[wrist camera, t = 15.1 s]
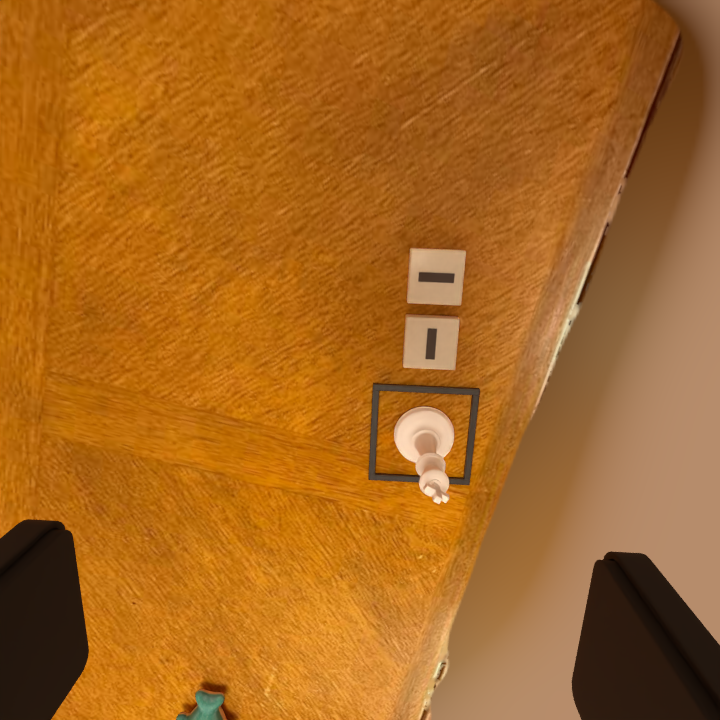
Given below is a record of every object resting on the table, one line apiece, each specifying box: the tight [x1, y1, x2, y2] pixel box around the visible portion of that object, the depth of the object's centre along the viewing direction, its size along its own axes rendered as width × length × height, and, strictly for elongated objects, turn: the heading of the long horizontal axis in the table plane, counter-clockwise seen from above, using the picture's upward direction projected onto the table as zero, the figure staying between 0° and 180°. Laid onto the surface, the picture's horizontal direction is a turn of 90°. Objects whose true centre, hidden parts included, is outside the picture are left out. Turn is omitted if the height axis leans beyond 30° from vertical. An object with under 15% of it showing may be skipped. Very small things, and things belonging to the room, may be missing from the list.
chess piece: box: [394, 407, 454, 504], centre depth 35 cm, size 5×5×10 cm
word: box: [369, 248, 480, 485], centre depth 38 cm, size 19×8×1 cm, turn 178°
